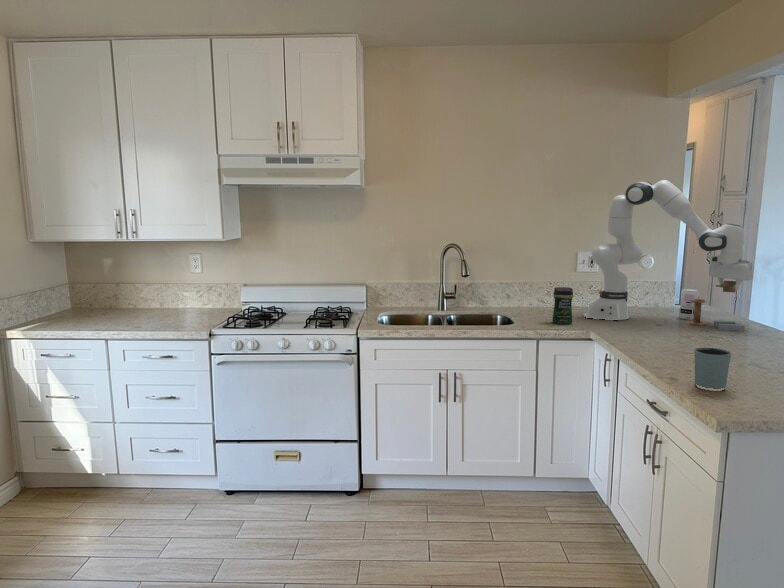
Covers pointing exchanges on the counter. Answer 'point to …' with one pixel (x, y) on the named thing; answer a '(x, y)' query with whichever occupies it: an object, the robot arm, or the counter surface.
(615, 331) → the counter surface
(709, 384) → the teal cup
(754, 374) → the counter surface
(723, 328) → the notch board
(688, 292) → the supplement can
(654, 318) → the counter surface
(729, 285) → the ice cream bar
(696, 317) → the bobbin
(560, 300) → the coffee jar
